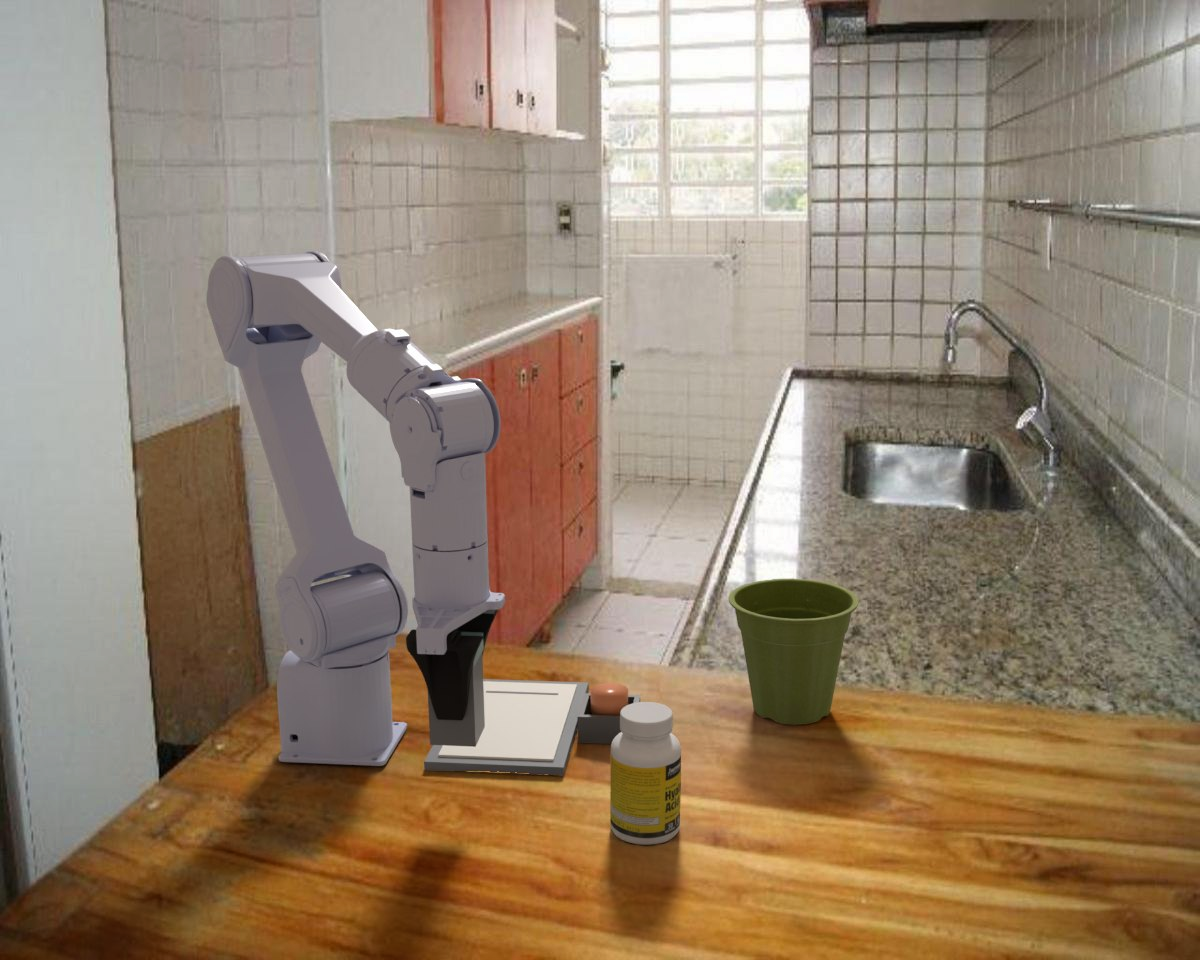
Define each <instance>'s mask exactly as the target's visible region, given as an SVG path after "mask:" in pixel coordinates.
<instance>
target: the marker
mask: <svg viewBox="0 0 1200 960" xmlns="http://www.w3.org/2000/svg"><path fill="white" fill-rule="evenodd" d="M461 635H467V636H483V632H461ZM483 650H484V651H485V648H484V643H483V639H482V641H481V644H480V646H479V648H478V650H477V653H476V656H475V659H474V663H473V666H472V671H471V677H470V685H469V696H468V703H467V709H466V713H465V716H464V718H463V720H461V721H460V720H438V719H437V717H436V715H435V712H434V709H433V706H432V702H431V699H430V695H429V692H428V691H427V703H428V705H427V706H428V708H427V709H428V724H429V725H428V728H429V729H428V730H429V745H430V746H433V745H447V746H471V747H476V745H477V743H478V740H479V738H480V736H481V734H482V732H483V729H484V727H485V718H484V688H483V679H484V668H483V667H484V665H483V663H484V662H483V660H484V659H483V658H484V657H483V658H482V651H483Z"/></svg>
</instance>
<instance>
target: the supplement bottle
mask: <svg viewBox="0 0 1200 960" xmlns="http://www.w3.org/2000/svg"><path fill="white" fill-rule="evenodd" d="M673 715H674V714H673V711H672V709H671V708H670V707H669V706H667V705H665V704H663V703H659V702H654V701H640V702H637V703H632V704H629V705H627V706H625V707H623V708H622V710H621V712H620V730H621V732H620V733H619V734H618V735H617V736H616V737H615V738H614V739H613V741H612V744H610V796H609V797H610V799H609V800H610V810H609V811H610V813H609V814H610V815H609V817H610V828H611V831H612V832H613V834H614V835H615V837H617V838H618V839H620V840H622V841H624V842H626V843H627V842H628V843H630V844H634V845H645V846H647V845H659V844H662V843H666V842H668V841H670V840H672V839H673V838H674V837H675V836H676V835H677V834H678V832H679V831H680V825H681V796H682V795H681V790H682V788H681V787H682V747H681V742H680V741H679V739H678V737H677V736H675V735H674V734H673V733H672V732H673V727H674V725H673V724H674V723H673V722H674V721H673V720H674V718H673V717H674V716H673Z"/></svg>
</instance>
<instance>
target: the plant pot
mask: <svg viewBox="0 0 1200 960" xmlns="http://www.w3.org/2000/svg"><path fill="white" fill-rule="evenodd" d="M859 600H860V599H859V597H858V596H857V595H856V593H854V591H851V590H849V589H848V588H847V587H843V586H842V585H841V586H840V585H837V584H835V583H831V582H827V581H822V580H815V579H808V578H806V579H805V578H772V579H765V580H757V581H753V582H749V583H746V584H742V585H740V586H738V587H737V588H734V589H733V590H732V591H731V592H730V593H729V595H728V602H729V604H730V606H731V607H732V608H734V611H735V617H736V623H737V626H738V628H739V630H740V634H741V641H742V645H743V652H744V658H745V663H746V664H745V666H746V670H747V676H748V677H747V678H748V681H749V682H748V683H749V688H750V695H751V700H752V705H753V706H752V707H753V710H754V711H755V713H756V714H757V715H758V716H759V717H761V718H763V719H765V718H769V719H771V720H773V721H775V723H778V724H783V725H788V726H789V725H790V726H794V725H810V724H813V723H816V722H819V721H820V720H821V719H822V718H824V717H825V716H826V717H828V716H829V714H830V712H831V709H832V704H833V699H834V694H835V687H836V682H837V678H838V673H839V667H840V662H841V657H842V651H843V646H844V642H845V636H846V633H848V630H849V627H850V622H851V619H852V618H851V617H852V613H853V612H854V611H856V609H858V606H859V603H860V601H859Z"/></svg>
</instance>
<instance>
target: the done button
mask: <svg viewBox="0 0 1200 960" xmlns="http://www.w3.org/2000/svg"><path fill="white" fill-rule="evenodd" d="M590 693H591V713H592V714H593V715H610V716H620V712H621V710H622V708H623V707H625V706H627V705H628V695H629V688H628V687H627V686H626V685H624V684H621V683H617V682H603V683H598V684H595V685H593V686H592V687H591V688H590Z"/></svg>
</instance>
